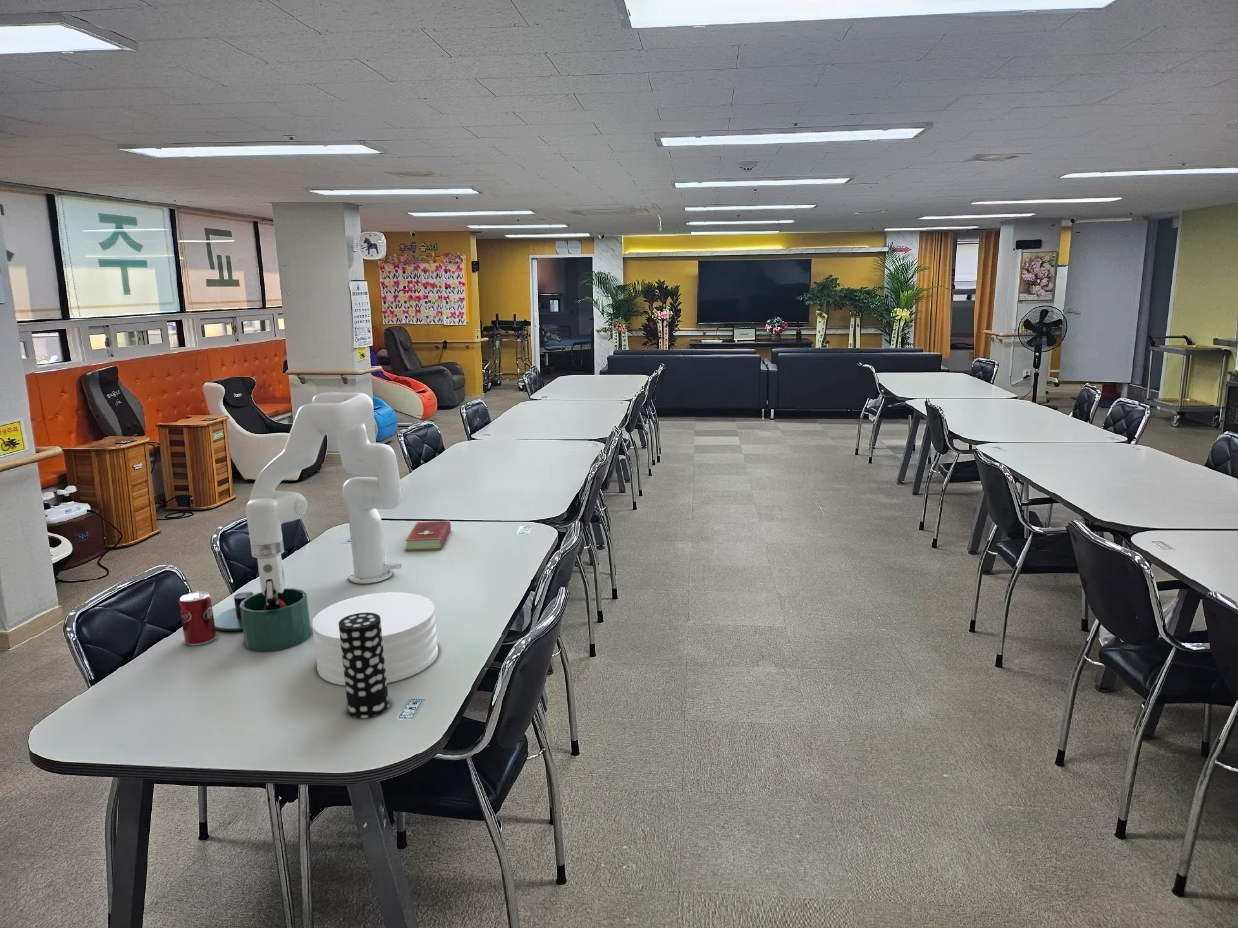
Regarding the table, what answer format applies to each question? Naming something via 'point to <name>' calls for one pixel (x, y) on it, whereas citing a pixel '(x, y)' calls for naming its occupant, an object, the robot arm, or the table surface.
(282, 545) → the robot arm
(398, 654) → the plate stack
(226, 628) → the lid
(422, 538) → the hardcover book
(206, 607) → the soda can
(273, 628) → the pot
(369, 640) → the white-spotted black cylinder
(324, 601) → the table surface
